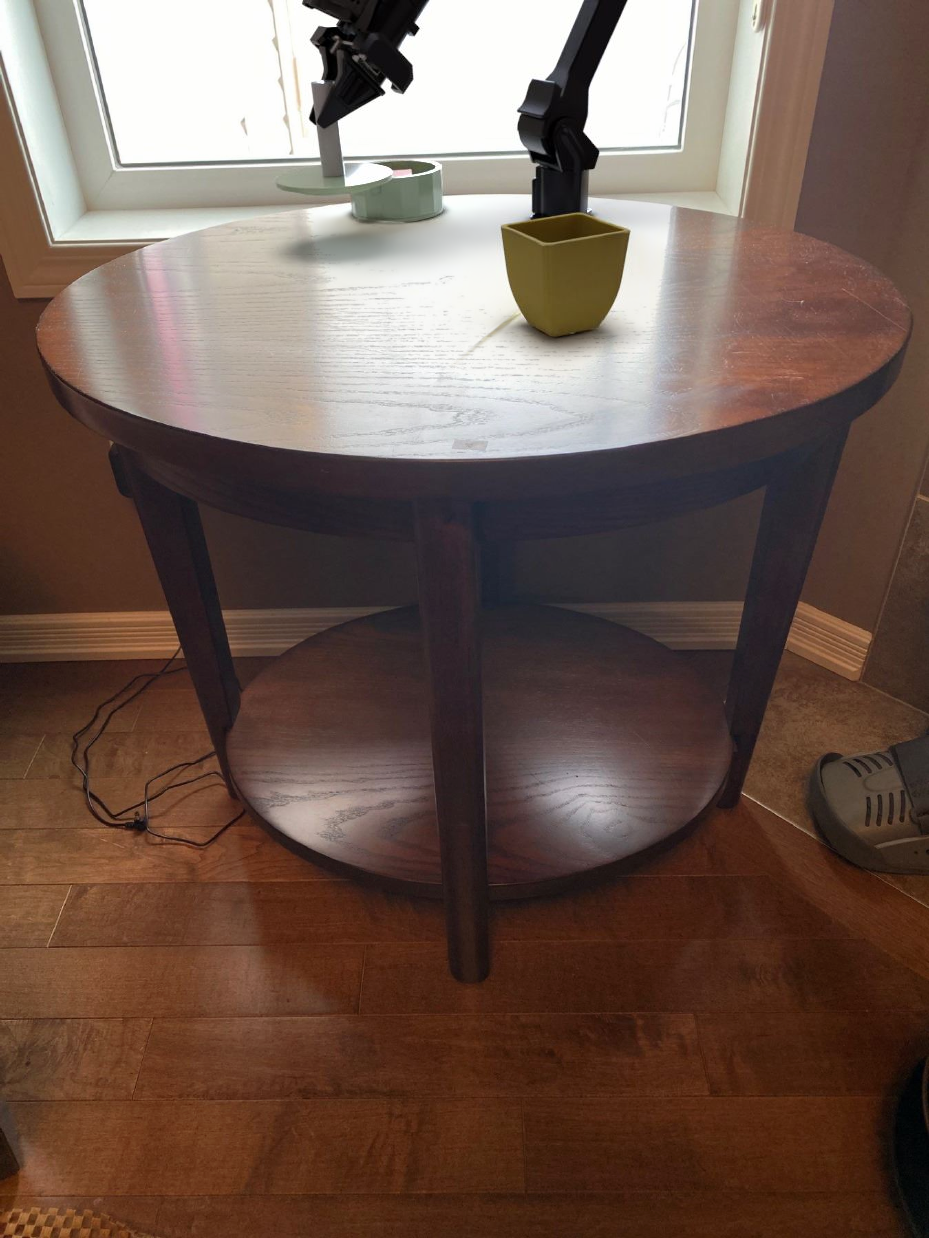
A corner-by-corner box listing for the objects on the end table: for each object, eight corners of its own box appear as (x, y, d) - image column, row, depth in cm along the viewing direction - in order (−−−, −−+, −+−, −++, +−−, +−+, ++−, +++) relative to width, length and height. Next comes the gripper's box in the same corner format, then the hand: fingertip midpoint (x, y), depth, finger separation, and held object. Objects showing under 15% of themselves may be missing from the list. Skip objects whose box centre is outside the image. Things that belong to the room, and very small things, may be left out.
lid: (417, 182, 106) (409, 77, 100) (326, 205, 99) (311, 93, 92) (343, 169, 114) (331, 71, 108) (253, 190, 106) (235, 86, 100)
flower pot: (499, 321, 88) (498, 223, 83) (577, 306, 91) (581, 210, 85) (543, 349, 82) (545, 244, 76) (626, 332, 84) (633, 230, 79)
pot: (466, 200, 131) (465, 158, 127) (407, 231, 118) (404, 184, 115) (390, 195, 135) (387, 154, 132) (325, 224, 122) (319, 179, 119)
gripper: (315, -62, 101) (236, 63, 104) (373, -67, 87) (280, 78, 90) (389, 17, 108) (313, 133, 111) (452, 24, 94) (364, 156, 97)
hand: (316, 124), depth 102 cm, fingers closed on lid, 2 cm apart
